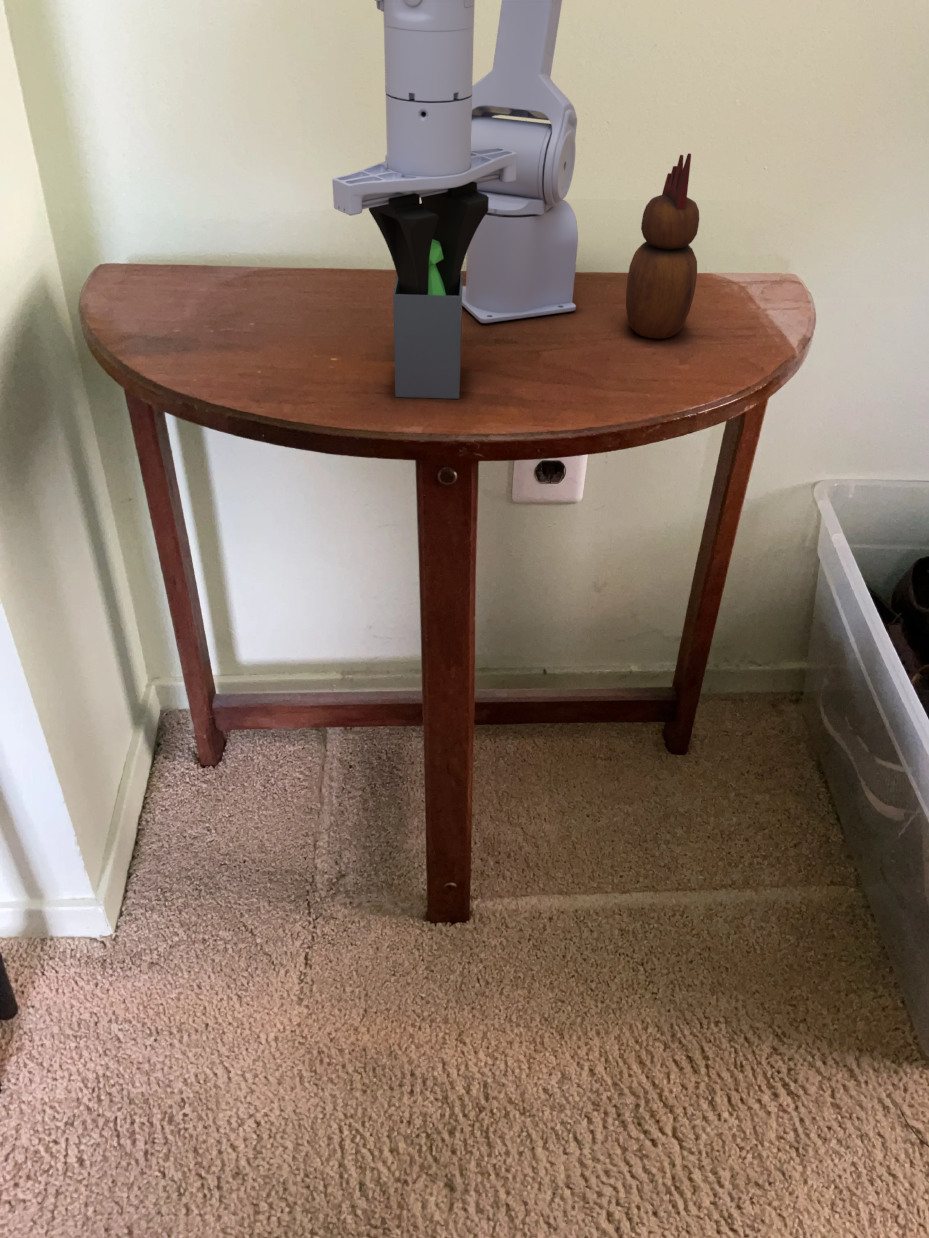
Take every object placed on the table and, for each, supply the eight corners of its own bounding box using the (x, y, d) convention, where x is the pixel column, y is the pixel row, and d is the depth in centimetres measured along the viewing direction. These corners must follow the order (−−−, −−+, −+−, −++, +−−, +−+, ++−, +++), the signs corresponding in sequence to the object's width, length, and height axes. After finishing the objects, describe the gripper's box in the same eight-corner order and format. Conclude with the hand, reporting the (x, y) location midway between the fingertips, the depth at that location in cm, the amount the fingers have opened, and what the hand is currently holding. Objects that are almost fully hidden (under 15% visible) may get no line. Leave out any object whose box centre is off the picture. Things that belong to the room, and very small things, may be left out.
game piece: (464, 326, 73) (464, 244, 70) (408, 331, 73) (404, 249, 69) (451, 303, 77) (450, 224, 73) (397, 309, 76) (393, 229, 72)
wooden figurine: (686, 350, 84) (718, 161, 75) (618, 342, 85) (642, 155, 76) (688, 320, 89) (718, 140, 80) (624, 313, 90) (647, 135, 81)
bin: (460, 371, 80) (462, 272, 75) (459, 399, 76) (461, 296, 71) (399, 370, 80) (397, 270, 75) (395, 397, 76) (393, 294, 71)
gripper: (475, 72, 71) (470, 262, 80) (301, 95, 64) (316, 301, 72) (541, 89, 67) (528, 288, 75) (364, 116, 60) (372, 333, 68)
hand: (428, 297), depth 73 cm, fingers closed on game piece, 2 cm apart
